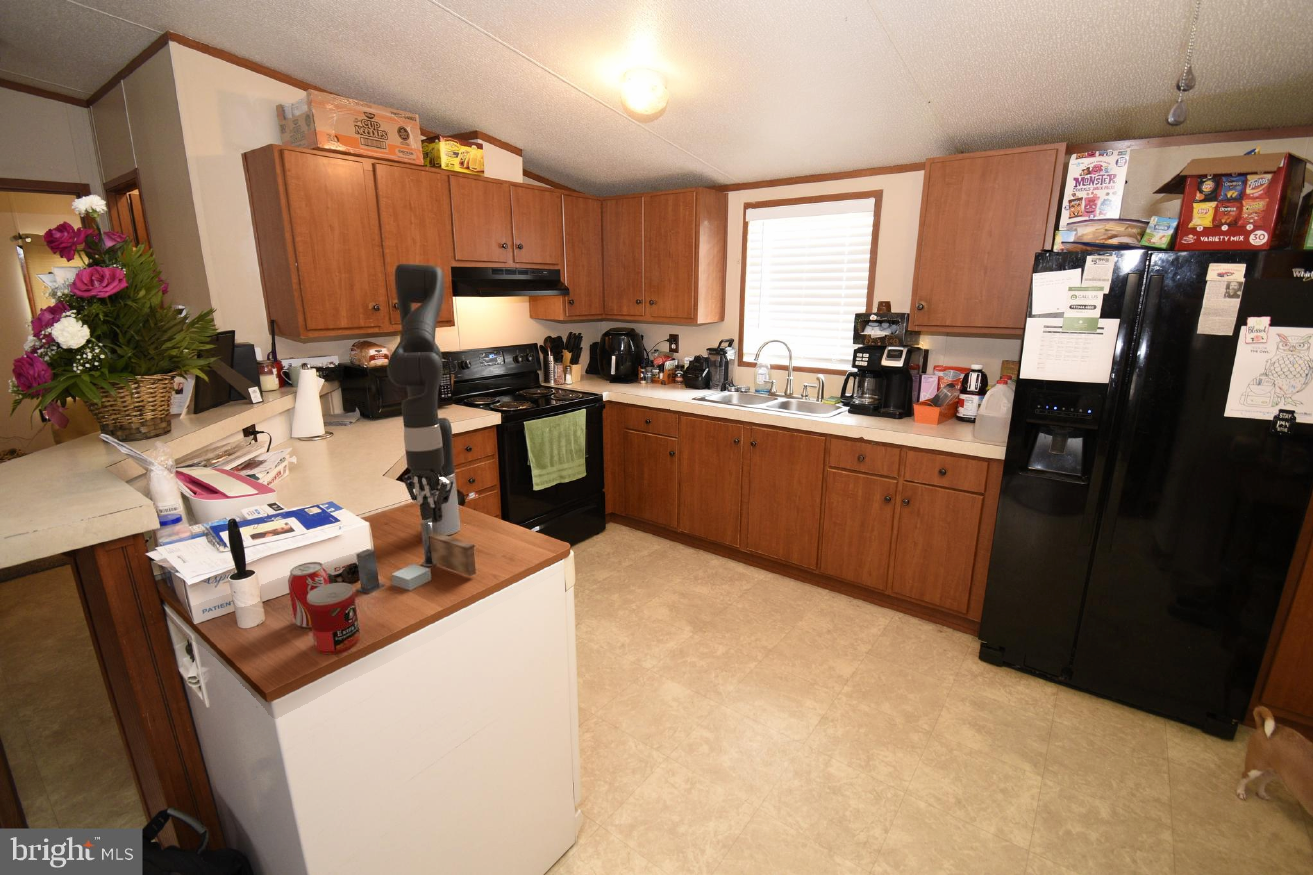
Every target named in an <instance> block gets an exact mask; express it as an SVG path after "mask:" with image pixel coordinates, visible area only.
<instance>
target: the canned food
mask: <svg viewBox="0 0 1313 875" xmlns="http://www.w3.org/2000/svg"><path fill="white" fill-rule="evenodd" d="M307 603H308V610H309V616H310V622H311V627H310V628H311V634H312V638H313V645H314V648H315V649H316V651H317V650H318V651H319V653H320V652H321V653H320V654H323V653H331V654H330V655H333V654H332V653H335V654H339V652H340V653H342V652H346V651H348V650H350V649H351V648H353V647H354V646H356V645H357V643H358V642H359V641H360V635H361V632H360V625H359V618H358V612H357V611H358V610H357V604H356V598H355V591H354V587H353V585H351V584H350V583H346V582H333V583H329V584H327V585H323V586H321V587H318V588H316V589H314V590H312V591H311V592H310V593H309V594H308V595H307ZM349 648H350V649H349ZM347 649H348V650H347ZM318 651H317V652H318Z"/></svg>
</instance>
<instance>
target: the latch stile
mask: <svg viewBox="0 0 1313 875" xmlns="http://www.w3.org/2000/svg"><path fill="white" fill-rule="evenodd" d="M355 556H356V561H357V569H358V576H359V578H358V579H359V584H360V586H359V587H357V588H355V591H357V592H360V593H363V594H366V595H369V594H371V593H374V592H376V591H377V590H379V589H381V588H384V587H385V583H381V582H380V580H379V579H380V578H379V573H378V572H379V571H378V566H377V564H378V563H377V558H376V551H375V550H373V549H369V548H367V549H365V550H362V551H360V552H357V553H356V554H355Z"/></svg>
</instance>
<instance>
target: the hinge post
mask: <svg viewBox="0 0 1313 875" xmlns="http://www.w3.org/2000/svg"><path fill="white" fill-rule="evenodd" d="M420 527H421V528H420V531H421V537H422V546H423V547H422V548H423V555H424V561H423V562H422V563H421V564H422V567H425V568H430V567H435V566H438V565H437V564H434V563H432V555H431V546H430V538H428V535H431V534H433V527H432V521H424V522H423V521H422V522H420Z"/></svg>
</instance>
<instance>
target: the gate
mask: <svg viewBox="0 0 1313 875" xmlns="http://www.w3.org/2000/svg"><path fill="white" fill-rule="evenodd" d="M428 538H430V546H431V555H432V563H434V564H437V565H436V566H439V567H443V568H445V569H449V570H451V571H454V572H456V573H458V574H459V573H460V574H463V575H465V576H468V577H471V576H474V575H475V574H477V571H476V570H477V569H476V560H475V557H476V556H475V549H474V548H476V546H475V543H471V542H468V541H464V540H462V539H461V540H460V539H458V538H456V537H455V538H454V537H451V536H449V535H447V536H445V535H442V534H439V533H433V534H431V535H428Z"/></svg>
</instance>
